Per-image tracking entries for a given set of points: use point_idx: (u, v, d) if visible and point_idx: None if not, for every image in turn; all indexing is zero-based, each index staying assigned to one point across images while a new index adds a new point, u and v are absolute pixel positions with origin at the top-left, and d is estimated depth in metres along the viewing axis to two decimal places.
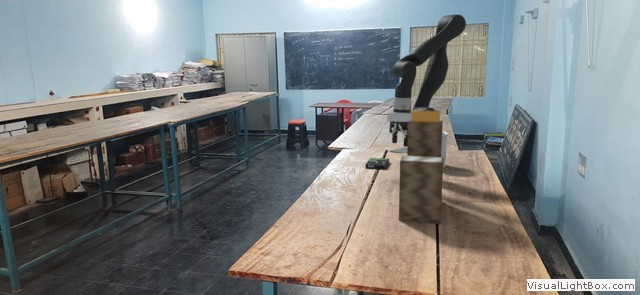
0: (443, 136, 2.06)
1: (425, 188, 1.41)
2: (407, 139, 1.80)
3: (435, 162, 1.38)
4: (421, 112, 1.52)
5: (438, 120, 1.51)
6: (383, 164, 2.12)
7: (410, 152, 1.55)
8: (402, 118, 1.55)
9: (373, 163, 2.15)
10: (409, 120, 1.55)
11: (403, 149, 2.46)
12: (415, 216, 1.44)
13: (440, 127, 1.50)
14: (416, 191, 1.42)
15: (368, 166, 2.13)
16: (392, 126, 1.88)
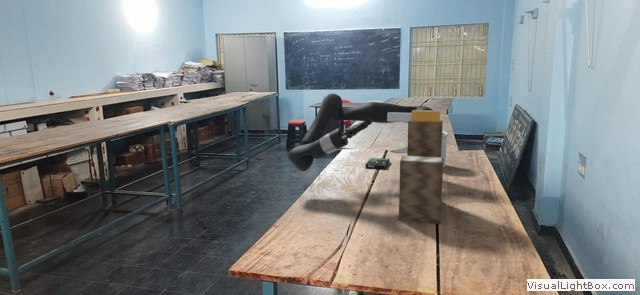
0: (443, 136, 2.06)
1: (425, 188, 1.41)
2: (359, 128, 1.58)
3: (435, 162, 1.38)
4: (421, 112, 1.52)
5: (438, 120, 1.51)
6: (383, 164, 2.12)
7: (410, 152, 1.55)
8: (402, 118, 1.55)
9: (373, 163, 2.15)
10: (409, 120, 1.55)
11: (404, 149, 2.46)
12: (415, 216, 1.44)
13: (440, 127, 1.50)
14: (416, 191, 1.42)
15: (368, 166, 2.13)
16: None
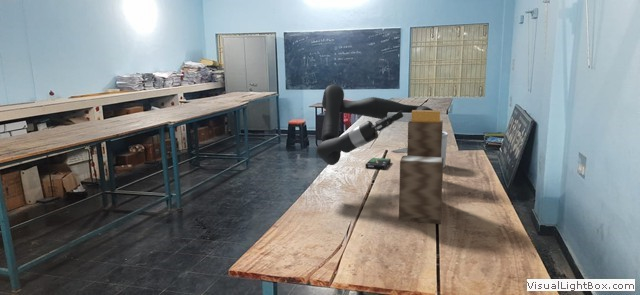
0: (443, 136, 2.06)
1: (425, 188, 1.41)
2: None
3: (435, 162, 1.38)
4: (421, 112, 1.52)
5: (438, 120, 1.51)
6: (383, 164, 2.12)
7: (410, 152, 1.55)
8: (402, 118, 1.55)
9: (373, 163, 2.15)
10: (409, 120, 1.55)
11: (406, 149, 2.46)
12: (415, 216, 1.44)
13: (440, 127, 1.50)
14: (416, 191, 1.42)
15: (368, 166, 2.13)
16: None
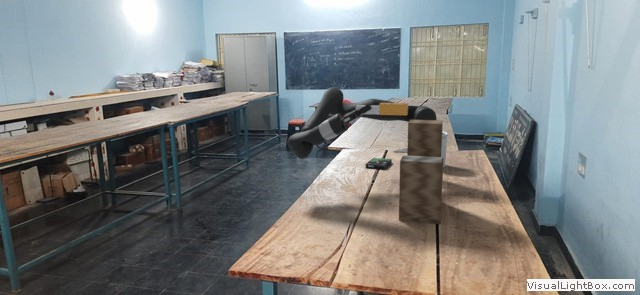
0: (443, 136, 2.06)
1: (425, 188, 1.41)
2: (362, 110, 1.56)
3: (435, 162, 1.38)
4: (388, 105, 1.53)
5: (405, 113, 1.51)
6: (383, 164, 2.12)
7: (410, 152, 1.55)
8: (370, 111, 1.56)
9: (373, 163, 2.15)
10: (377, 113, 1.55)
11: None
12: (415, 216, 1.44)
13: (440, 127, 1.50)
14: (416, 191, 1.42)
15: (368, 166, 2.13)
16: None
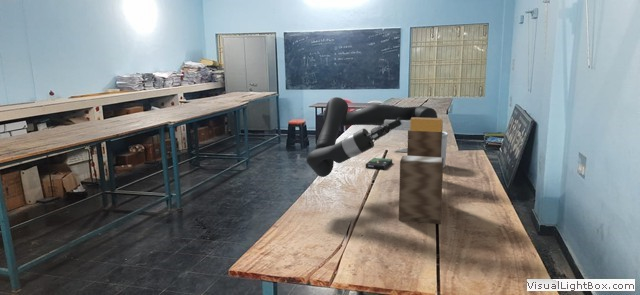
0: (443, 136, 2.06)
1: (425, 188, 1.41)
2: None
3: (435, 162, 1.38)
4: (421, 120, 1.38)
5: (439, 129, 1.37)
6: (383, 164, 2.12)
7: (410, 152, 1.55)
8: (400, 127, 1.41)
9: (374, 163, 2.15)
10: (408, 128, 1.41)
11: None
12: (415, 216, 1.44)
13: None
14: (416, 191, 1.42)
15: (368, 166, 2.13)
16: None
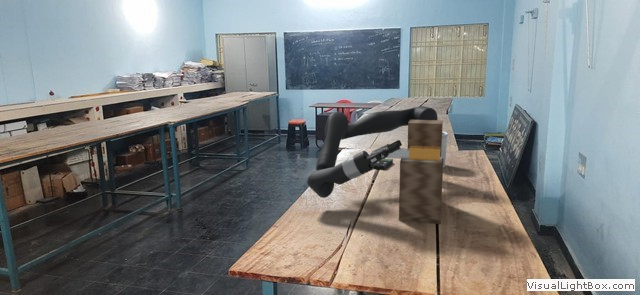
0: (443, 136, 2.06)
1: (425, 188, 1.41)
2: None
3: (435, 162, 1.38)
4: (419, 149, 1.40)
5: (437, 158, 1.39)
6: (383, 164, 2.12)
7: None
8: (399, 155, 1.43)
9: None
10: (406, 157, 1.43)
11: None
12: (415, 216, 1.44)
13: (440, 127, 1.50)
14: (416, 191, 1.42)
15: None
16: None
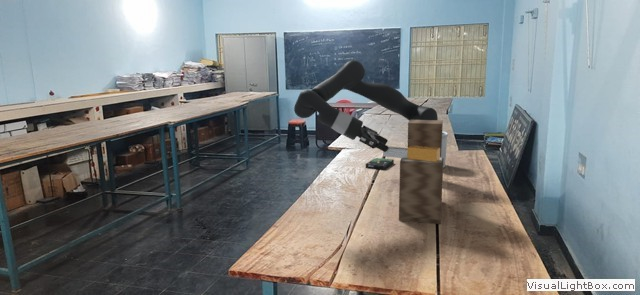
0: (443, 136, 2.06)
1: (425, 188, 1.41)
2: None
3: (435, 162, 1.38)
4: (417, 149, 1.40)
5: (434, 159, 1.38)
6: (383, 164, 2.11)
7: None
8: (398, 154, 1.45)
9: (374, 163, 2.15)
10: (405, 156, 1.43)
11: None
12: (415, 216, 1.44)
13: (440, 127, 1.50)
14: (416, 191, 1.42)
15: (368, 166, 2.13)
16: None
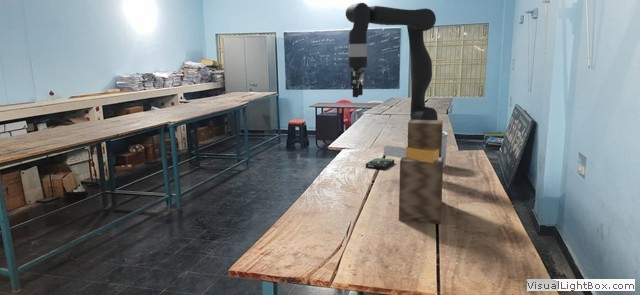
0: (443, 136, 2.06)
1: (425, 188, 1.41)
2: None
3: (435, 162, 1.38)
4: (415, 149, 1.40)
5: (432, 160, 1.37)
6: (383, 165, 2.11)
7: None
8: (398, 154, 1.45)
9: (374, 163, 2.15)
10: (404, 156, 1.44)
11: None
12: (415, 216, 1.44)
13: (440, 127, 1.50)
14: (416, 191, 1.42)
15: (368, 166, 2.13)
16: None
